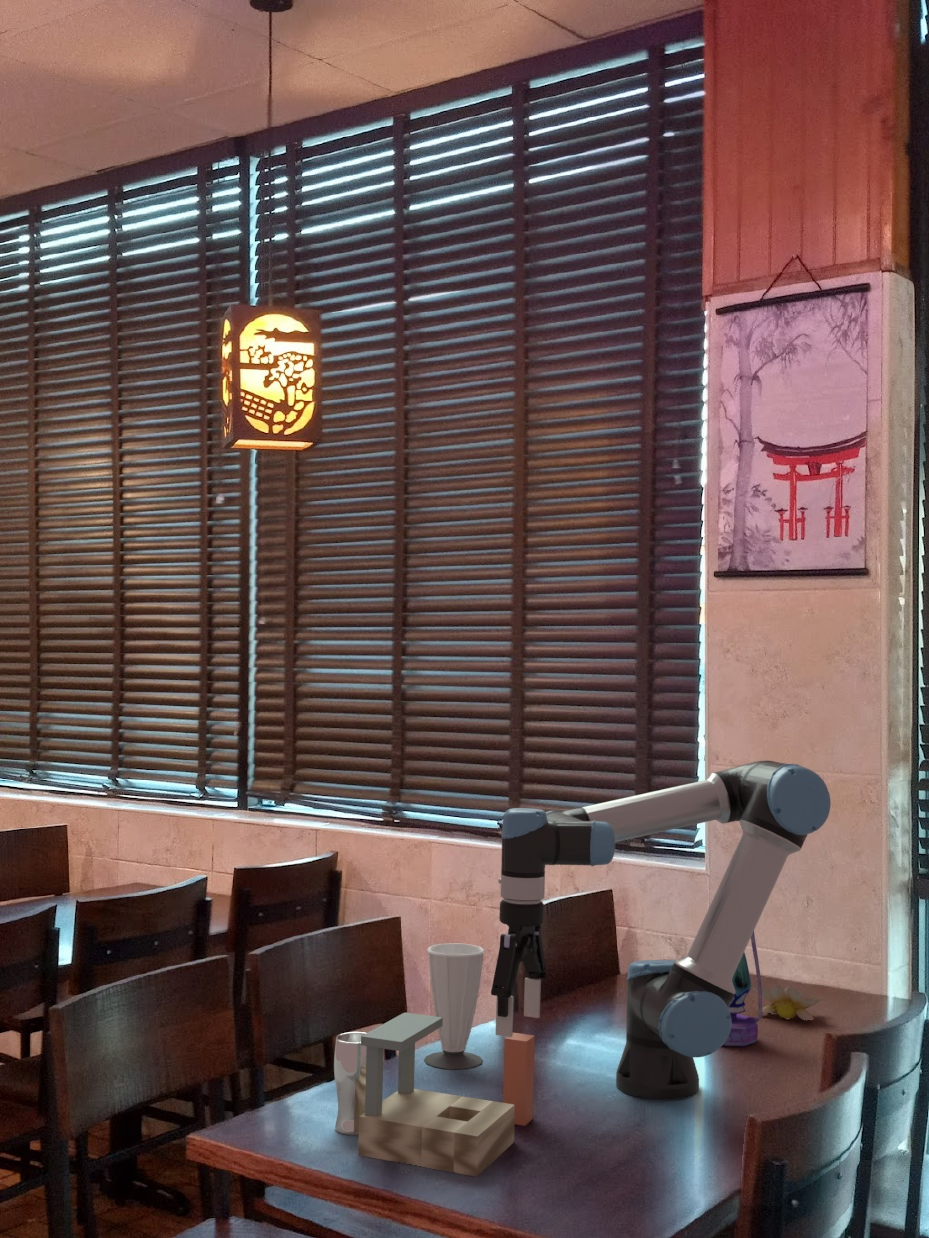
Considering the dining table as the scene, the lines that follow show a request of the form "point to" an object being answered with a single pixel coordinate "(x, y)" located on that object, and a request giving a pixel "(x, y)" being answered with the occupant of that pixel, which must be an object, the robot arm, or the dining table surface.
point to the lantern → (744, 1026)
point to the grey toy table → (394, 1037)
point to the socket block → (438, 1131)
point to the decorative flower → (787, 1002)
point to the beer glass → (350, 1081)
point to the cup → (455, 1001)
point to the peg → (519, 1076)
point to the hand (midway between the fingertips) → (518, 1025)
